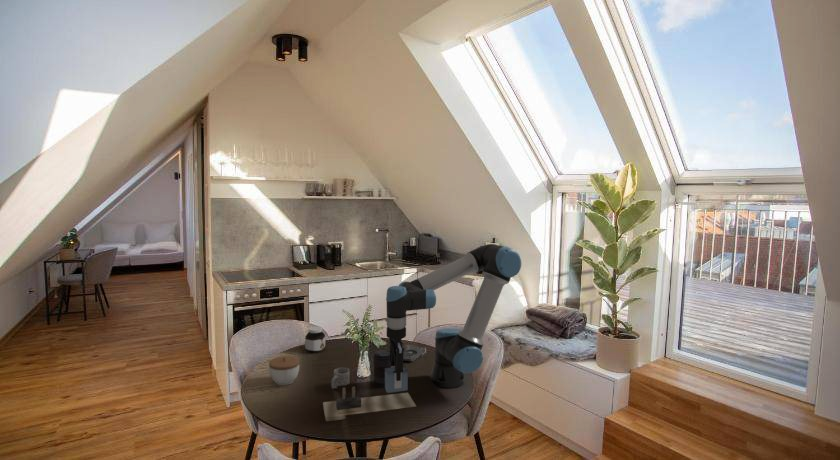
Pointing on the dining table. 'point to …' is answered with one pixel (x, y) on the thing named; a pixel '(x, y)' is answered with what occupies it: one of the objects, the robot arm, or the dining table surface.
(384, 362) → the camera lens
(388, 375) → the block
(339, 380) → the mug
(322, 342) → the spread jar
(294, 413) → the dining table surface
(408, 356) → the graphics card
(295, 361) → the lidded bowl
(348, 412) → the board
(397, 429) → the dining table surface
